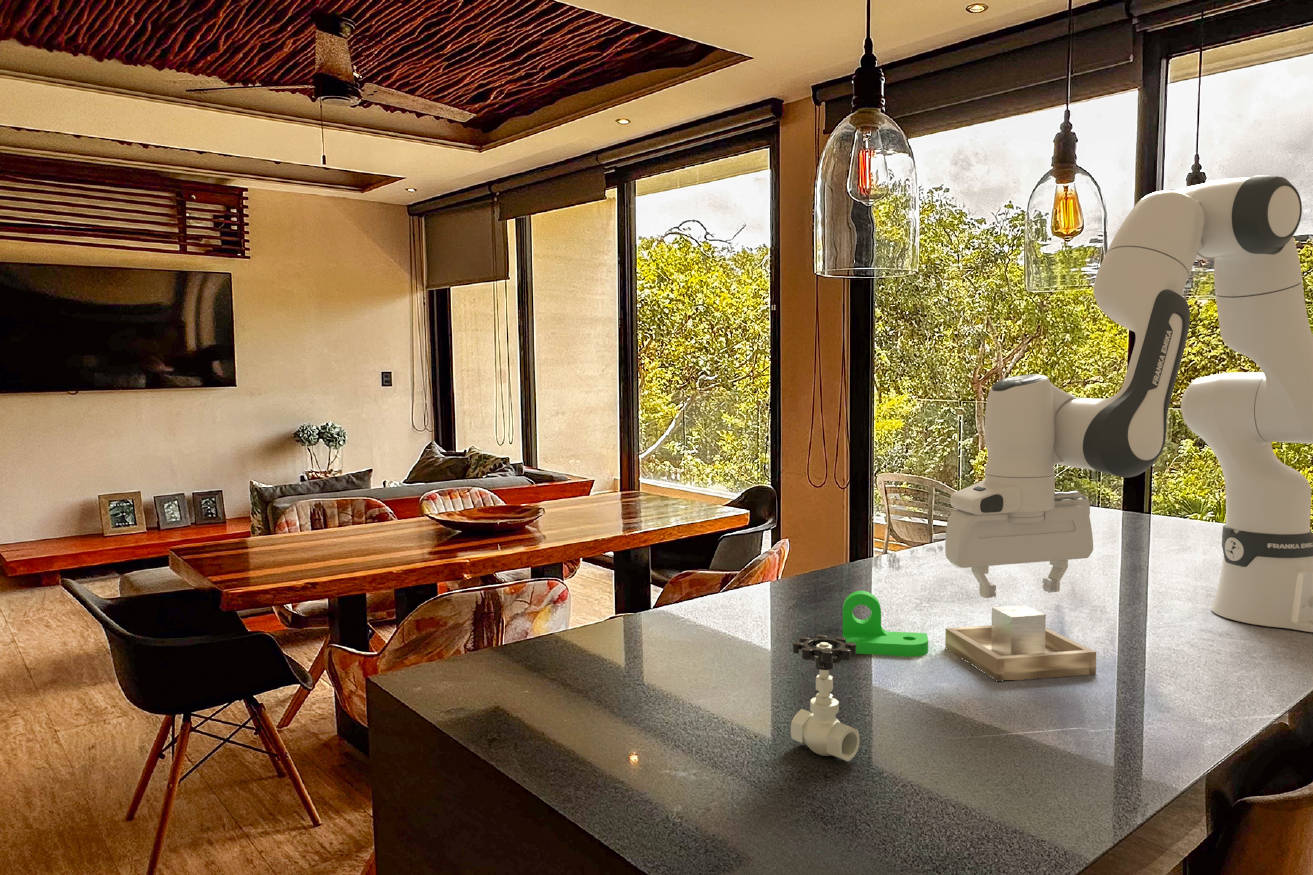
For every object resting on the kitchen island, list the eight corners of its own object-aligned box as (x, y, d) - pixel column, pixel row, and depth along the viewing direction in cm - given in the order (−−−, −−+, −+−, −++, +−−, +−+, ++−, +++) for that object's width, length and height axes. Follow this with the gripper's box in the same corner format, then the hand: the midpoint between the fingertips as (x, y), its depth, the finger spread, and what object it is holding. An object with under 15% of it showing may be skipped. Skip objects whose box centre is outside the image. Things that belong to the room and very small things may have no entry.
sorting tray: (1034, 642, 131) (1034, 622, 131) (1095, 673, 117) (1096, 651, 117) (945, 648, 129) (945, 628, 128) (997, 681, 115) (997, 659, 115)
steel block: (1024, 646, 126) (1024, 605, 125) (1045, 658, 121) (1045, 614, 120) (991, 649, 125) (991, 607, 124) (1010, 660, 120) (1011, 617, 119)
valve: (820, 735, 99) (820, 630, 98) (869, 754, 94) (869, 643, 93) (780, 752, 95) (779, 642, 94) (829, 773, 90) (828, 657, 89)
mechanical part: (842, 655, 127) (842, 600, 127) (842, 642, 133) (842, 589, 133) (929, 659, 125) (930, 603, 124) (926, 646, 131) (926, 592, 130)
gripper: (1075, 486, 126) (1074, 582, 127) (939, 495, 123) (940, 593, 124) (1103, 493, 120) (1103, 593, 121) (961, 502, 117) (962, 605, 118)
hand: (1019, 594), depth 123 cm, fingers open, 8 cm apart
